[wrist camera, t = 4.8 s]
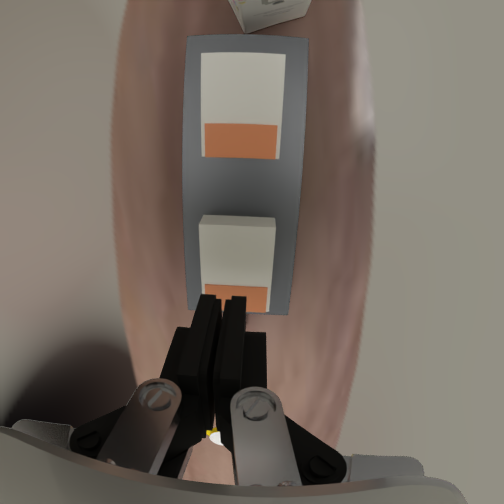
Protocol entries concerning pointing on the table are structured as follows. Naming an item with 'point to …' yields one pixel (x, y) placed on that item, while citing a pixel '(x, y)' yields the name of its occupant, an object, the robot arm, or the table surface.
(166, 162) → the table surface
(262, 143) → the rocker
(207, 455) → the table surface
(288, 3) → the ink cartridge box
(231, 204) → the rocker switch panel
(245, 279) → the plate
